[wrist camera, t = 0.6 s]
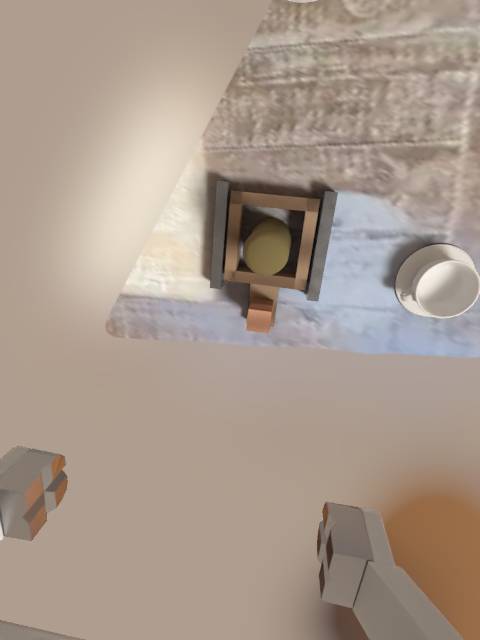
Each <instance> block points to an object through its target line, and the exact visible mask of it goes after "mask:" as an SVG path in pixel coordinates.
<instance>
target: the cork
mask: <svg viewBox="0 0 480 640" xmlns="http://www.w3.org/2000/svg"><path fill="white" fill-rule="evenodd" d="M292 242H293V239H292V233H291V231H290V229H289V227H288V226H287V225H286V224H285V223H284V222H283V221H281V220H279V219H275V218H267V219H263V220H261V221H259V222H257V223H256V224H255V225H254V226H253V228H252V230H251V232H250V235H249V238H248V239H247V240H246V242H245V244H244V248H243V257H244V261H245V263H246V265H247V266H248V267H249V268H250V269H251V270H252V271H253V272H255V273H257V274H259V275H264V276H267V275H273V274H275V273H277V272H279V271H280V270H281V269H282V268H284V266H285V265H286V263H287V261H288V257H289V251H290V249H291V247H292Z"/></svg>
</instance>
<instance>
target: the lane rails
mask: <svg viewBox="0 0 480 640" xmlns="http://www.w3.org/2000/svg"><path fill="white" fill-rule="evenodd" d="M231 183H232V182H228V181H217V182H216V199H215V215H214V232H213V248H212V264H211V281H210V288H216V289H221V288H222V286H223V285H224V274H225V261H226V247H227V234H228V221H229V208H230V195H231ZM337 194H338V192H330V191H324V192H323V198H322V204H321V210H320V216H319V222H318V228H317V234H316V239H315V245H314V251H313V257H312V263H311V269H310V275H309V281H308V287H307V293H306V297H307V300H311V301H318V299H319V293H320V288H321V282H322V277H323V271H324V266H325V260H326V255H327V249H328V244H329V238H330V233H331V227H332V222H333V216H334V211H335V205H336V200H337Z"/></svg>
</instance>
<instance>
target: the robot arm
mask: <svg viewBox="0 0 480 640" xmlns="http://www.w3.org/2000/svg"><path fill="white" fill-rule="evenodd" d="M287 1H291V2H298V3H305V2H312V1H317V0H287ZM65 465H66V462H65V456H63V455H60V454H55V453H51V452H46V451H41V450H36V449H30V448H25V447H21V446H17V447H14V448H12V449H11V450H10V451H9V452H8V453H7V454H6V455H4V456H3V457H2V458H1V459H0V540H1V539H3V538H4V536H6V537H12V538H18V539H23V540H29V541H32V540H33V539H34V537H35V536H36V535H37V533H38V532H39V530H40V529H41V528H42V527H43V525H44V524H45V523H46V521H47V513H48V512H50V511H52V510H54V509H55V508H57V506H58V505H59V504H60V502H61V500H62V499H63V497H64V494H65V492H66V490H67V483H68V480H67V475H66V474H65V472H64V471H63V470H62V469H63V468H64V466H65ZM322 513H323V521H322V522H320V524H319V529H318V536H317V557H318V560H319V562H320V563H321V568H320V572H319V583H320V595H321V601H325V602H329V603H333V604H338V605H342V606H346V607H350V608H353V611H354V613H355V615H356V616H357V618H358V620H359V622H360V624H361V625H362V627H363V629H364V631H365V632H366V634H367V636H368V638H369V639H370V640H464V639H463V638H462V637H461V636H460V635H459V634H458V633H457V631H456V630H455V629H454V628H453V627H452V626H451V625H450V623H449V622H448V621H447V620H446V619H445V618H444V616H443V615H442V614H441V613H440V612H439V611H438V609H437V608H436V607H435V606H434V605H433V604H432V603H431V601H430V600H429V599H428V598H427V597H426V596H425V594H424V593H423V592H422V591H421V590H420V589H419V587H418V586H417V585H416V584H415V583H414V582H413V581H412V580H411V578H410V577H409V576H408V575H407V574H406V573H405V571H404V570H403V569H402V568H401V567H397V566H395V563H394V559H393V556H392V552H391V549H390V545H389V542H388V539H387V535H386V532H385V528H384V525H383V521H382V518H381V515H380V513H379V512H378V511H376V510H370V509H365V508H358V507H353V506H347V505H341V504H335V503H329V502H325V504H324V507H323V511H322ZM0 640H84V639H80V638H76V637H71V636H67V635H63V634H58V633H54V632H49V631H45V630H41V629H36V628H32V627H28V626H23V625H19V624H14V623H11V622H6V621H2V620H0Z"/></svg>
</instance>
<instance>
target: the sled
mask: <svg viewBox="0 0 480 640" xmlns="http://www.w3.org/2000/svg"><path fill="white" fill-rule="evenodd" d="M319 204H320V199H316V198H306V197H296V196H286V195H276V194H266V193H256V192H246V191H236V190H232V191H231V195H230V208H229V221H228V234H227V247H226V261H225V274H224V280H225V281H233V282H241V283H249V284H250V293H249V303H248V313H247V322H246V323H247V329H246V330H248V331H255V332H262V333H269V330H270V326H272V327H274V320H275V312H276V305H277V298H278V290H279V287H281V288H289V289H297V290H305V289H306V283H307V277H308V271H309V265H310V259H311V252H312V246H313V240H314V234H315V228H316V222H317V216H318V210H319ZM244 205H251V206H261V207H270V208H280V209H290V210H299V211H305V213H304V219H303V226H302V232H301V239H300V246H299V252H298V259H297V265H296V272H295V273H292V272H283V271H279V272H277V273H275V274H273V275H267V276H264V275H259V274H257V273H255V272H253V271H252V270H251V269H250V268H249V267H242V266H239V260H240V249H241V238H242V227H243V215H244Z"/></svg>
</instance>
